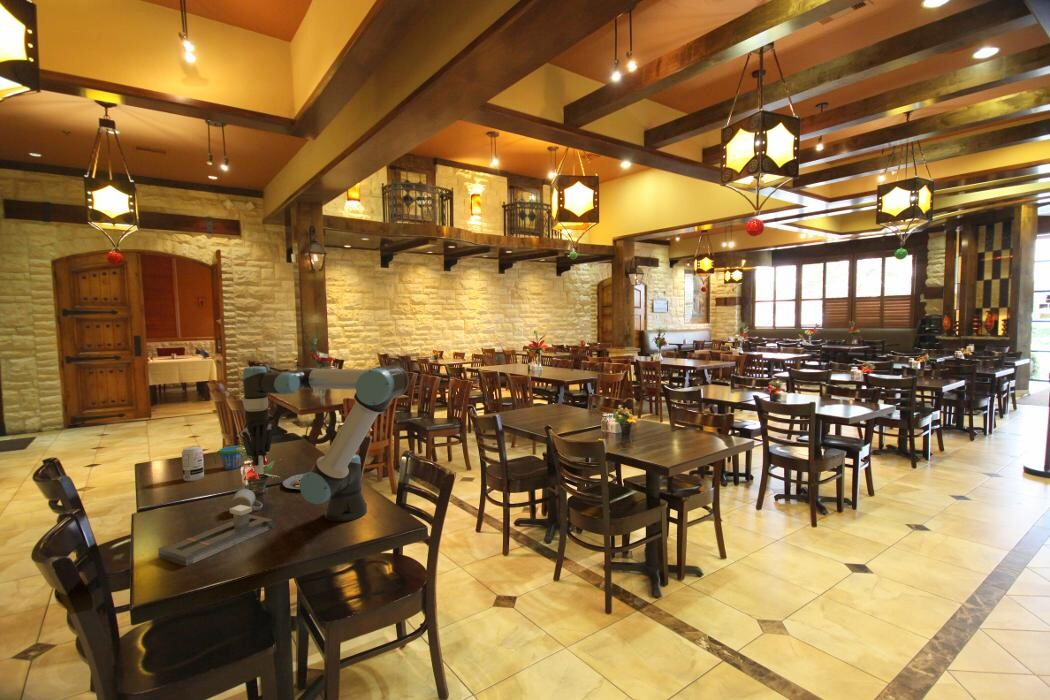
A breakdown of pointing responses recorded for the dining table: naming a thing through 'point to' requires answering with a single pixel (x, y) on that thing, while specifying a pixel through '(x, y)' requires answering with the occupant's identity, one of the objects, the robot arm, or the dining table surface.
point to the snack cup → (230, 457)
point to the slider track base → (213, 541)
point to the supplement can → (192, 463)
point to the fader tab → (240, 515)
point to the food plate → (293, 481)
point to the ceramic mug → (245, 499)
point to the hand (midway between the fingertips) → (259, 473)
